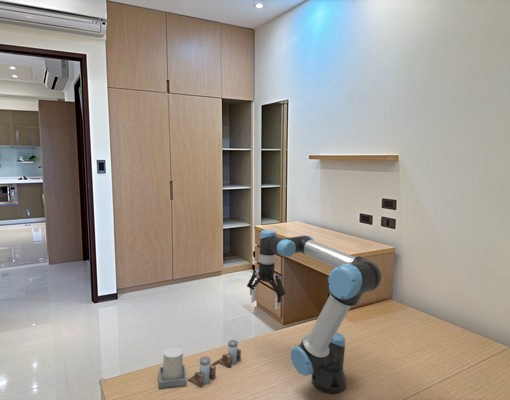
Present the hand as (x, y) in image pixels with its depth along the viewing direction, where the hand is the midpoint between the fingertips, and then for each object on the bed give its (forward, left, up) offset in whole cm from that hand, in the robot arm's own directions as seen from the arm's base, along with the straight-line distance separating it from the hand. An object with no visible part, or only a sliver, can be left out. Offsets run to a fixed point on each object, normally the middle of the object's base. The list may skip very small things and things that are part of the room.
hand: (264, 305), depth 170 cm
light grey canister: (+21, +39, -28) cm, 52 cm away
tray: (+21, +39, -28) cm, 52 cm away
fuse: (+10, +11, -28) cm, 32 cm away
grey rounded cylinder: (+10, +30, -28) cm, 43 cm away
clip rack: (+12, +21, -28) cm, 37 cm away
